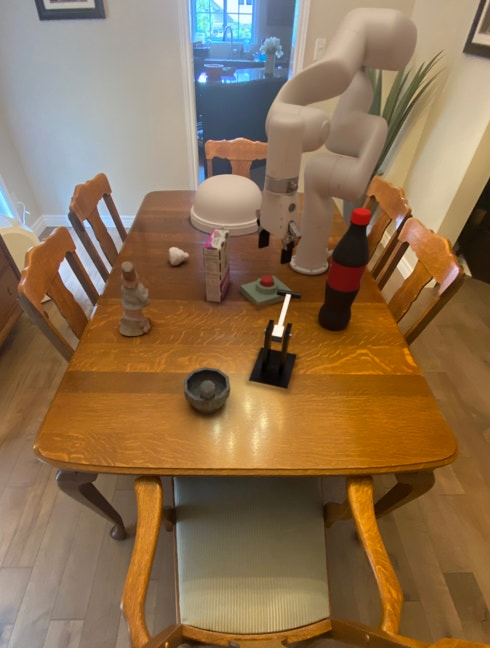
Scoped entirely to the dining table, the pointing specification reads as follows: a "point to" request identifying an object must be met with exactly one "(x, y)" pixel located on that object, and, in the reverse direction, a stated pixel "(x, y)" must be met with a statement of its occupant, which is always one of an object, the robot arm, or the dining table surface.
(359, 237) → the cola bottle
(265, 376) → the bracket
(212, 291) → the candy bar box
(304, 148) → the robot arm
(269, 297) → the control block
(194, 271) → the dining table surface
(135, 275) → the figurine
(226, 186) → the dome cover
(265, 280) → the button
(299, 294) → the lever
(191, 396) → the mortar and pestle
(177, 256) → the garlic bulb
